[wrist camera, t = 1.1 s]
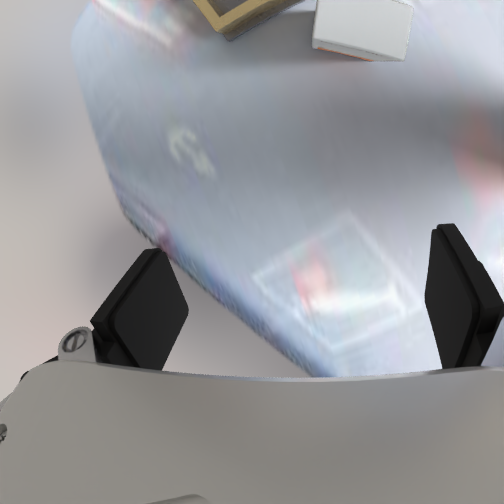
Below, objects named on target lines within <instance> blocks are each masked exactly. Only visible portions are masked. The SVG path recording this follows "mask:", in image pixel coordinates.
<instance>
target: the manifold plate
mask: <svg viewBox="0 0 504 504" xmlns="http://www.w3.org/2000/svg"><path fill="white" fill-rule="evenodd" d="M193 1H194V3H195V4H196V5H197V7H198V8H199V9H200V11H201V12H202V13H203V15H204V16H205V17H206V19H207V20H208V21H209V23H210V24H211V26H212V27H213V28H214V30H215V31H216V32H219V33H222V34H223V35H224V36H225V38H226V39H227V41H231V40H233V39H235V38H236V37H238V36H240V35H241V34H243V33H245V32H246V31H248V30H250V29H252V28H253V27H255V26H257V25H259V24H260V23H262V22H264V21H266V20H268V19H270V18H271V17H273V16H275V15H277V14H279V13H281V12H283V11H285V10H287V9H289V8H291V7H293V6H295V5H297V4H299V3H301V2H303V1H305V0H193Z"/></svg>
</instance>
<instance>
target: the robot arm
mask: <svg viewBox="0 0 504 504" xmlns="http://www.w3.org/2000/svg"><path fill="white" fill-rule="evenodd" d="M425 304H426V308H427V311H428V315H429V318H430V321H431V325H432V329H433V332H434V336H435V340H436V344H437V348H438V352H439V356H440V360H441V364H442V368H443V369H438V370H430V371H420V372H410V373H398V374H384V375H370V376H353V377H328V378H260V377H259V378H258V377H234V376H216V375H203V374H190V373H179V372H169V371H162V369H163V366H164V364H165V362H166V360H167V358H168V356H169V354H170V351H171V350H172V347H173V345H174V343H175V341H176V339H177V337H178V335H179V333H180V330H181V328H182V326H183V324H184V322H185V320H186V318H187V316H188V311H189V309H188V305H187V303H186V300H185V298H184V296H183V293H182V291H181V289H180V286H179V284H178V281H177V279H176V277H175V274H174V272H173V269H172V267H171V264H170V262H169V259H168V257H167V255H166V253H165V252H162V250H161V249H159V248H154V249H146V250H144V251H143V252H142V253H141V255H140V256H139V257H138V258H137V260H136V261H135V262H134V263H133V265H132V266H131V267H130V268H129V270H128V271H127V272H126V274H125V275H124V276H123V277H122V279H121V280H120V281H119V283H118V284H117V285H116V287H115V288H114V289H113V290H112V292H111V293H110V294H109V296H108V297H107V298H106V300H105V301H104V302H103V304H102V305H101V307H100V308H99V309H98V311H97V312H96V313H95V315H94V316H93V317H92V319H91V320H90V322H91V324H92V325H93V327H94V329H93V331H91V329H89V328H88V327H78V328H75V329H73V330H71V331H70V332H68V333H67V334H66V335H65V336H64V337H63V338H62V340H61V342H60V343H59V348H58V356H56V357H54V358H52V359H50V360H48V361H46V362H45V363H43V364H41V365H39V366H36V367H35V368H33V369H31V370H30V371H27V372H25V373H24V374H23V376H22V377H21V380H20V382H19V384H18V385H17V387H16V388H15V389H14V391H13V392H12V393H11V394H10V395H8V396H7V397H6V398H5V399H4V400H3V401H1V402H0V504H504V302H503V300H502V298H501V297H500V295H499V293H498V291H497V289H496V287H495V285H494V284H493V282H492V280H491V278H490V276H489V275H488V273H487V271H486V270H485V268H484V266H483V264H482V263H481V262H480V261H478V260H477V258H476V257H475V255H474V253H473V252H472V250H471V248H470V247H469V245H468V244H467V242H466V241H465V239H464V237H463V236H462V234H461V233H460V231H459V230H458V228H457V227H456V225H455V224H454V223H451V224H438V225H437V229H433V230H432V235H431V246H430V256H429V266H428V274H427V281H426V289H425Z"/></svg>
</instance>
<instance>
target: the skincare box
mask: <svg viewBox="0 0 504 504" xmlns="http://www.w3.org/2000/svg"><path fill="white" fill-rule="evenodd" d="M413 11H414V8H413V7H412V6H410V5H407V4H404V3H401V2H398V1H395V0H317V2H316V10H315V17H314V25H313V32H312V48H315V49H321V50H326V51H331V52H336V53H341V54H345V55H349V56H353V57H357V58H360V59H364V60H367V61H404V60H405V55H406V50H407V45H408V40H409V34H410V29H411V24H412V17H413Z"/></svg>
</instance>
